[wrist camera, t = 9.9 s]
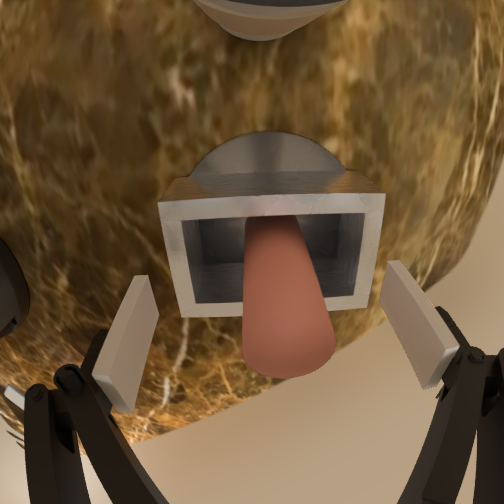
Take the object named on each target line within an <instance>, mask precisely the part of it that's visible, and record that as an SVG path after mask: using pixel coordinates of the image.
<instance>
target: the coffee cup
mask: <svg viewBox="0 0 504 504" xmlns="http://www.w3.org/2000/svg"><path fill="white" fill-rule="evenodd" d="M193 1H194V2H195V3H196V4H197V5H198V6H199V7H200V8H201V9H202V10H203V11H204V12H205V13H206V14H207V15H208V16H209V17H210V18H211V19H212V20H213V21H215V22H216V23H218V24H219V25H220V26H221V27H222V28H223V29H224V30H226V31H227V32H229V33H230V34H232V35H234V36H236V37H239V38H242V39H246V40H252V41H268V40H273V39H277V38H280V37H283V36H285V35H287V34H289V33H291V32H293V31H294V30H296V29H298V28H301V27H303V26H304V25H306V24H308V23H310V22H311V21H313V20H315V19H316V18H318V17H320V16H322V15H324V14H325V13H327V12H329V11H331V10H333V9H334V8H336V7H338V6H340V5H342V4H344V3H345V2H347V1H349V0H193Z"/></svg>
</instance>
